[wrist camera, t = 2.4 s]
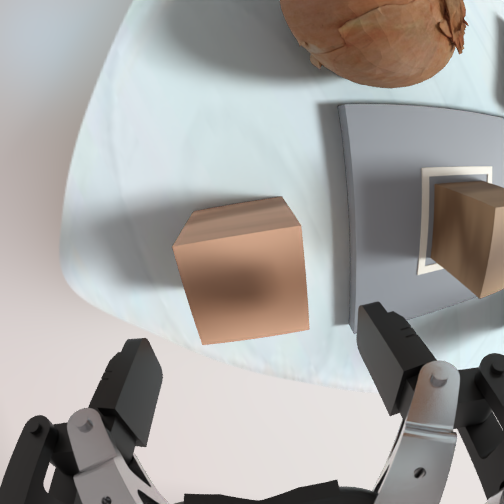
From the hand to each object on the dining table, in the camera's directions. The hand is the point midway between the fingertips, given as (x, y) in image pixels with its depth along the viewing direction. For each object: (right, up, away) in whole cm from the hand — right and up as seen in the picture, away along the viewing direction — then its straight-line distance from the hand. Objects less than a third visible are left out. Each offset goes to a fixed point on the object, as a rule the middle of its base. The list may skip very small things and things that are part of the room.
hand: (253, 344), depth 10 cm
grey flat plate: (+15, +6, +8) cm, 18 cm away
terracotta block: (-1, +4, +8) cm, 9 cm away
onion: (+6, +17, +3) cm, 19 cm away
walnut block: (+15, +6, +7) cm, 18 cm away
